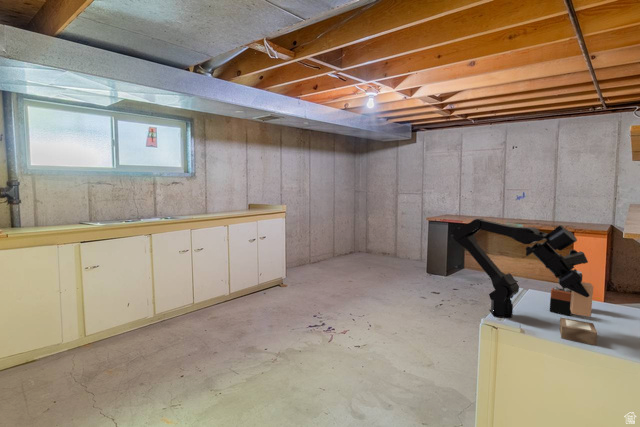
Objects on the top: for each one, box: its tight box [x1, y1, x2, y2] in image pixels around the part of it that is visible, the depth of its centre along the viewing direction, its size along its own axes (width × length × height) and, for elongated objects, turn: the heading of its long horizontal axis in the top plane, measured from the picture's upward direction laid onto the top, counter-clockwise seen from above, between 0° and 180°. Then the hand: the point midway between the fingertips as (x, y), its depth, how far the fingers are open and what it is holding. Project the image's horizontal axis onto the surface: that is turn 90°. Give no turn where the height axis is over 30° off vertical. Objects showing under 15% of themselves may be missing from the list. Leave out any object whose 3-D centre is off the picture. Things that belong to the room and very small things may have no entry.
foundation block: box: [559, 317, 598, 346], centre depth 114 cm, size 9×9×4 cm
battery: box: [549, 286, 572, 317], centre depth 135 cm, size 4×7×10 cm, turn 47°
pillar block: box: [570, 281, 594, 317], centre depth 116 cm, size 5×5×10 cm
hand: (586, 294), depth 115 cm, fingers closed on pillar block, 5 cm apart
